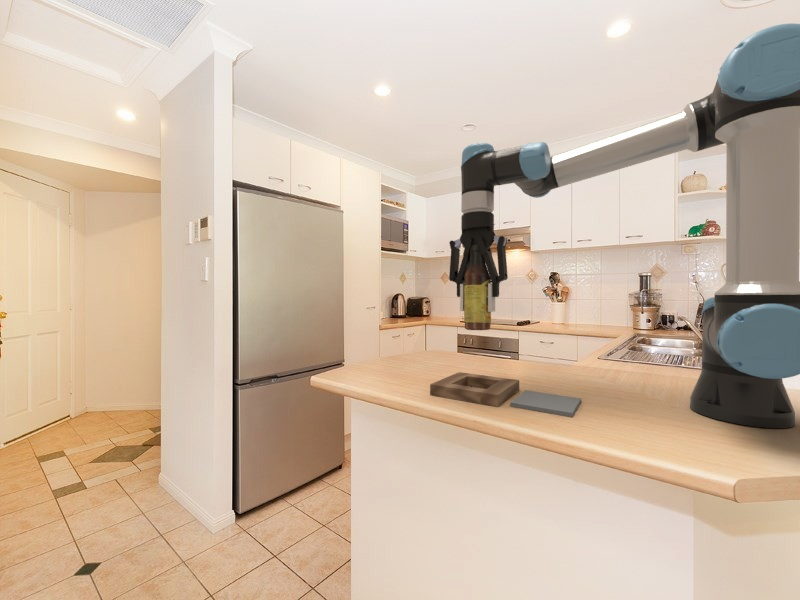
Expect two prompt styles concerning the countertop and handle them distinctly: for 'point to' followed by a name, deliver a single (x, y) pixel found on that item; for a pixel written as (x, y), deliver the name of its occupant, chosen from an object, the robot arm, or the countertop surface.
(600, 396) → the countertop surface
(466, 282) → the sauce bottle
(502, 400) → the caddy
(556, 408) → the mat
